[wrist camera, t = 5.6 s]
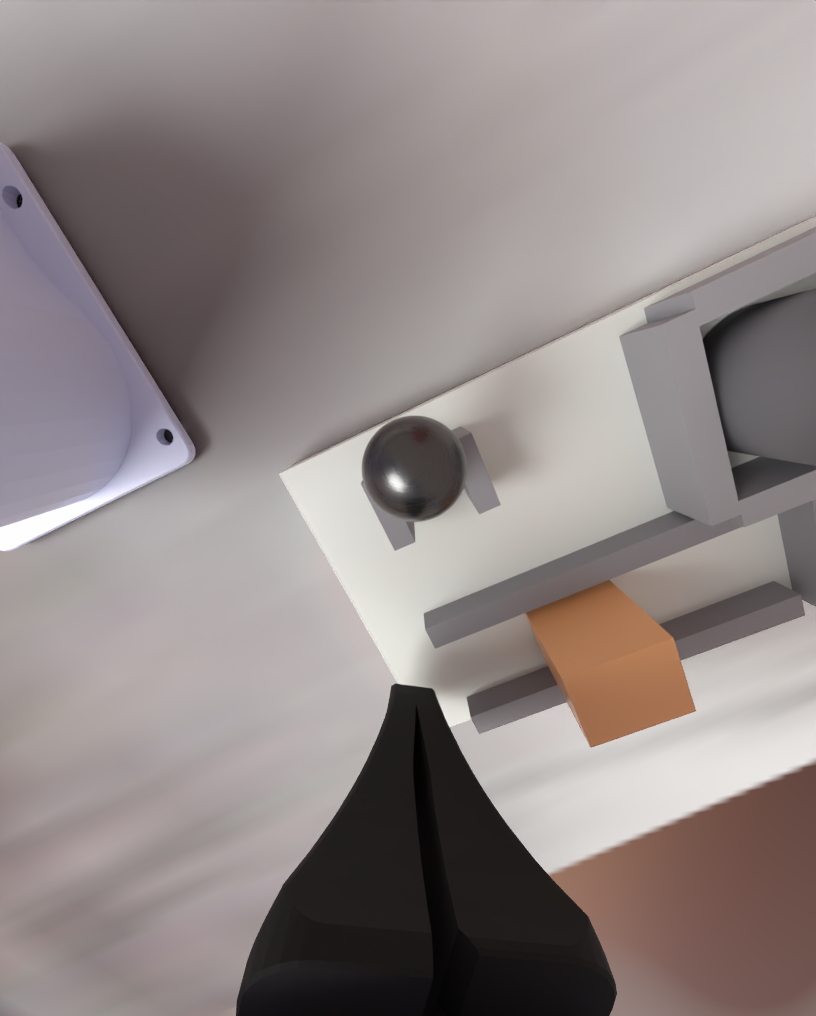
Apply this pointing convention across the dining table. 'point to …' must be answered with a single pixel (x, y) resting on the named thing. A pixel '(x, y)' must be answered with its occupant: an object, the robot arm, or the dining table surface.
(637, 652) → the orange flat-faced block
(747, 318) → the button
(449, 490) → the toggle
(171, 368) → the dining table surface
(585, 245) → the dining table surface
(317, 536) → the panel
